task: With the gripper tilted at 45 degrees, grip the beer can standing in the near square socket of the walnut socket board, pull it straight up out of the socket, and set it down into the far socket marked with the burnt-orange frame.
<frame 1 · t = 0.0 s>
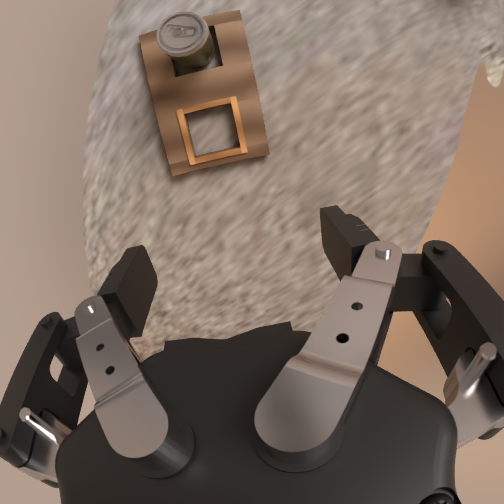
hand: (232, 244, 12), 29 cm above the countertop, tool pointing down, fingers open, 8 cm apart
socket board: (204, 90, 33), on the countertop
beer can: (195, 52, 30), resting in socket board
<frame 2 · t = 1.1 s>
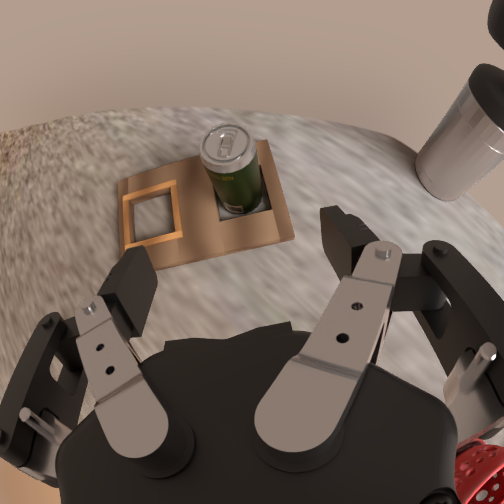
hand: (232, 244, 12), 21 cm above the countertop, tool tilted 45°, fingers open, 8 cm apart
plant pot: (452, 468, 23), on the countertop
socket board: (196, 207, 36), on the countertop
beer can: (242, 197, 36), resting in socket board
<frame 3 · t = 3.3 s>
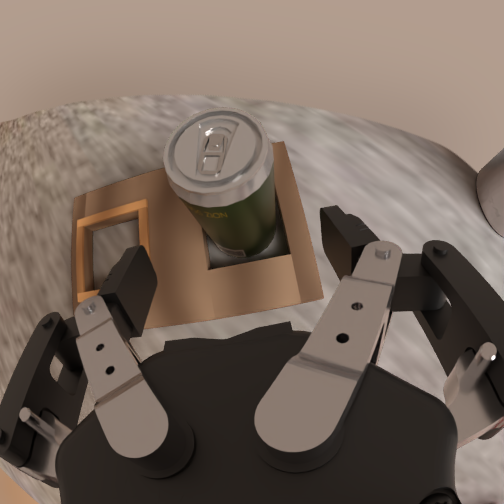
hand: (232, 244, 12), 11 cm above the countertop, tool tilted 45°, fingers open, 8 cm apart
socket board: (176, 242, 24), on the countertop
beer can: (244, 229, 24), resting in socket board
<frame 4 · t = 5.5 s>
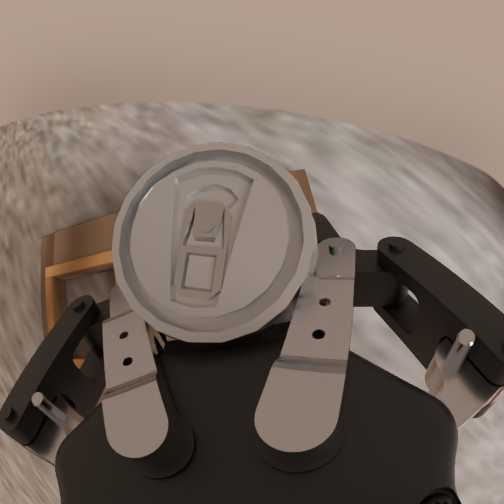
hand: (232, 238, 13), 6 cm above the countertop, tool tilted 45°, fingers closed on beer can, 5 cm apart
socket board: (164, 305, 18), on the countertop
beer can: (251, 290, 18), resting in socket board, touching gripper
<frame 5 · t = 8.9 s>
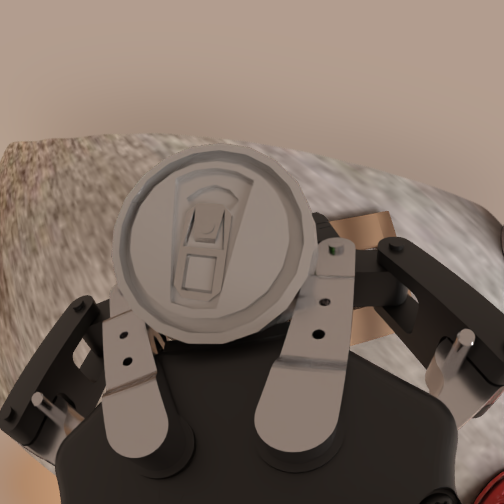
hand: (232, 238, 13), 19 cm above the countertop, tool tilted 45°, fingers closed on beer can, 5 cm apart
plant pot: (490, 492, 18), on the countertop
socket board: (314, 289, 31), on the countertop
beer can: (251, 291, 18), point 13 cm above the countertop, touching gripper
when the fingers open (6 cm above the countertop, at t = 12.3 s): beer can stays where it is, resting in socket board.
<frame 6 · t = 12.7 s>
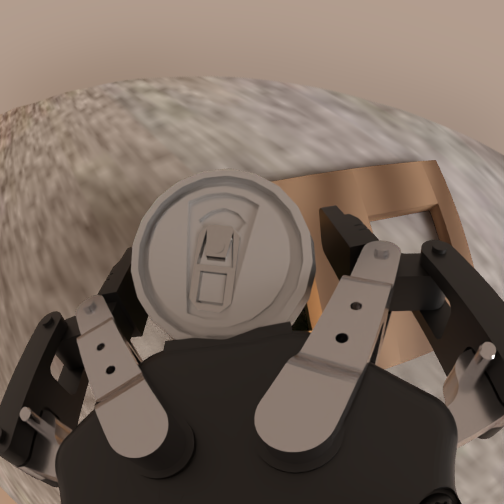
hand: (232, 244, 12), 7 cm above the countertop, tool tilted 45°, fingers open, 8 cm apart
socket board: (338, 274, 19), on the countertop
beer can: (253, 295, 19), resting in socket board
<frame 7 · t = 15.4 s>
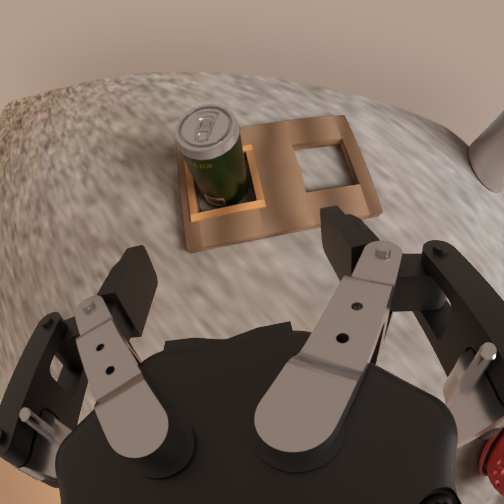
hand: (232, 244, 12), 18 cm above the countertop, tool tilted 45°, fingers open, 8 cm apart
plant pot: (497, 444, 21), on the countertop
socket board: (275, 177, 32), on the countertop
beer can: (225, 189, 32), resting in socket board
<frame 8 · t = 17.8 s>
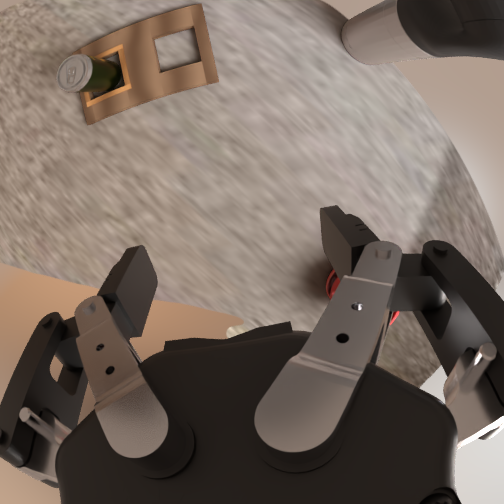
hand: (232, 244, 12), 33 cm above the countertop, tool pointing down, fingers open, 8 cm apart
plant pot: (349, 278, 56), on the countertop
socket board: (141, 62, 33), on the countertop
beer can: (108, 76, 33), resting in socket board
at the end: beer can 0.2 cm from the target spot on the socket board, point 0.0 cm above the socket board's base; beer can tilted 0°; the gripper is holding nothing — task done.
